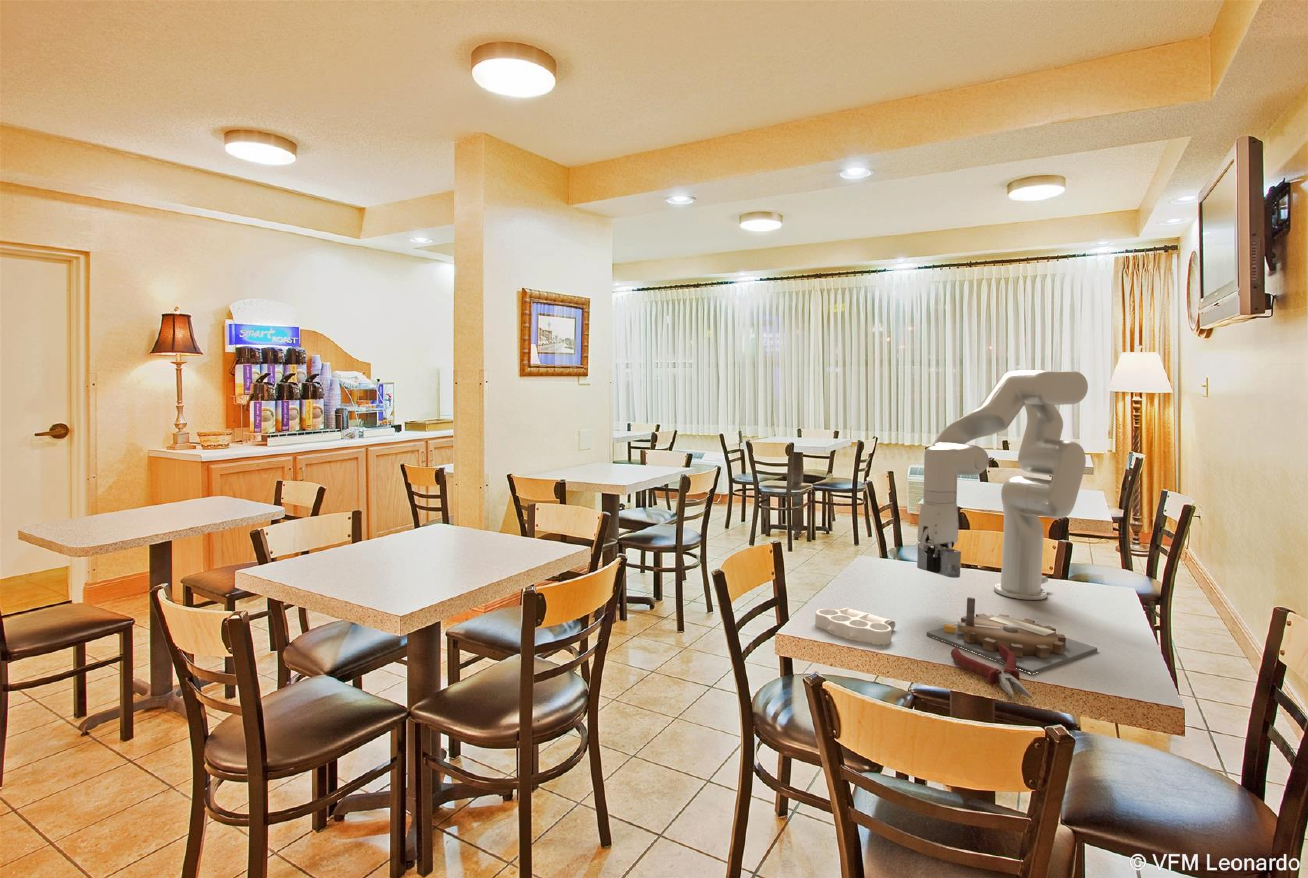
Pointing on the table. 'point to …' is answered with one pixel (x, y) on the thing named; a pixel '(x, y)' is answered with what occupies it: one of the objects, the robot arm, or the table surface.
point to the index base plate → (1024, 663)
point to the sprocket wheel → (1010, 634)
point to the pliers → (994, 670)
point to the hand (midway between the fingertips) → (938, 569)
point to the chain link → (942, 561)
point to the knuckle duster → (855, 625)
